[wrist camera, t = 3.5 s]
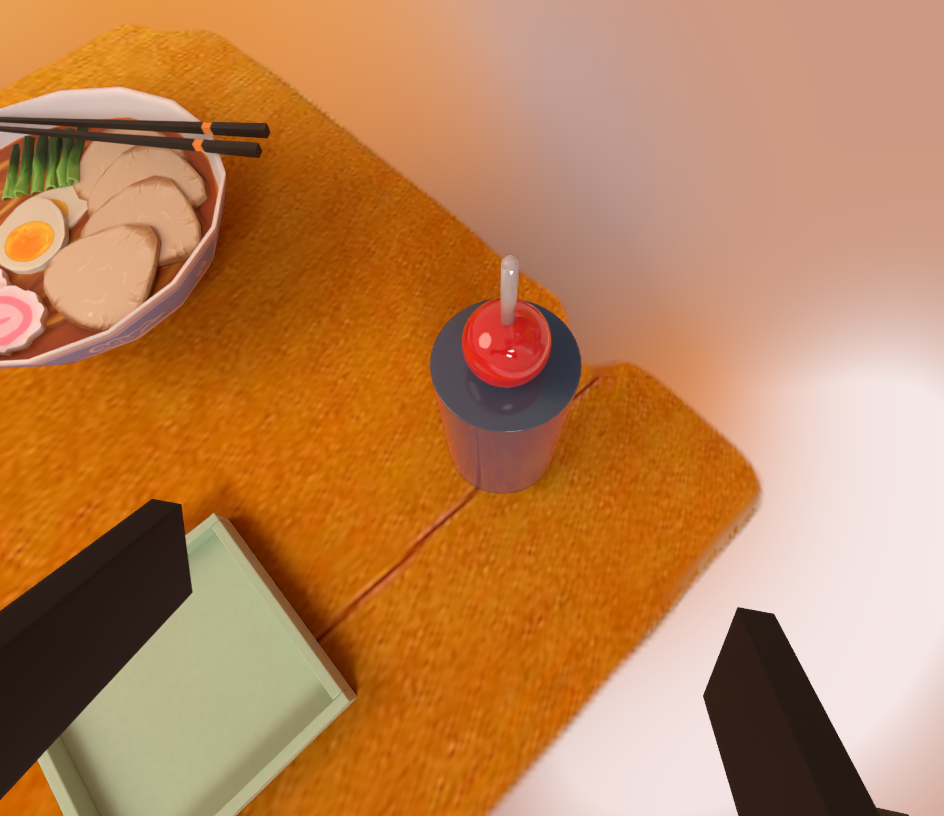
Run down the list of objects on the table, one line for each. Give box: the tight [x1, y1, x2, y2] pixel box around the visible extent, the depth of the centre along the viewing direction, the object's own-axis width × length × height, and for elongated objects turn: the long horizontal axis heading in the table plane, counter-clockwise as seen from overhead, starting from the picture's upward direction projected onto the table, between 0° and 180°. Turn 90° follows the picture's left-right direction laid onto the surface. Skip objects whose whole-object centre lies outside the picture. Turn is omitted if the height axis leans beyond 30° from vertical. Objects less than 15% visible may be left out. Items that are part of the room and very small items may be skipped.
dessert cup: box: [430, 254, 582, 493], centre depth 25 cm, size 7×7×18 cm
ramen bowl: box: [0, 87, 270, 368], centre depth 36 cm, size 25×23×8 cm
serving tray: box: [38, 513, 357, 816], centre depth 28 cm, size 13×13×2 cm
